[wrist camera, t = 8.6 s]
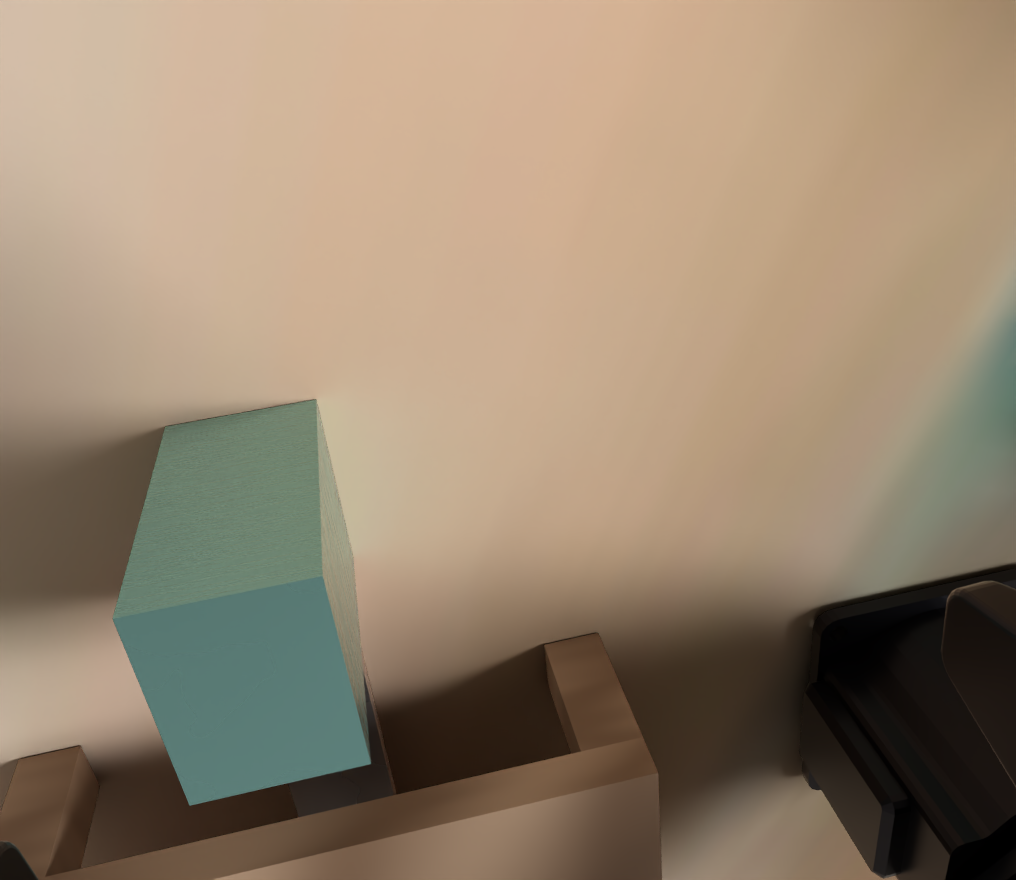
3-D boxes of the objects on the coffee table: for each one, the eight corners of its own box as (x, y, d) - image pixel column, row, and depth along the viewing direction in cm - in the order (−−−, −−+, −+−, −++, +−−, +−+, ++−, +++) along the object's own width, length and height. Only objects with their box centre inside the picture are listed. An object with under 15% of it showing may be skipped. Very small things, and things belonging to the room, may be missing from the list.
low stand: (598, 632, 23) (658, 773, 19) (613, 839, 27) (665, 990, 23) (18, 759, 21) (-44, 940, 18) (124, 960, 25) (93, 1144, 22)
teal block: (364, 390, 19) (390, 562, 14) (467, 892, 27) (507, 1118, 22) (114, 435, 18) (39, 633, 13) (295, 934, 26) (294, 1178, 21)
